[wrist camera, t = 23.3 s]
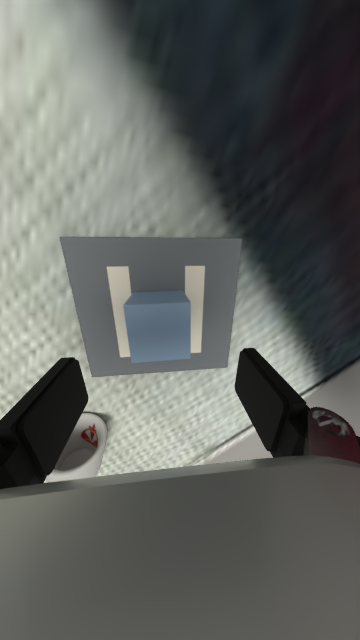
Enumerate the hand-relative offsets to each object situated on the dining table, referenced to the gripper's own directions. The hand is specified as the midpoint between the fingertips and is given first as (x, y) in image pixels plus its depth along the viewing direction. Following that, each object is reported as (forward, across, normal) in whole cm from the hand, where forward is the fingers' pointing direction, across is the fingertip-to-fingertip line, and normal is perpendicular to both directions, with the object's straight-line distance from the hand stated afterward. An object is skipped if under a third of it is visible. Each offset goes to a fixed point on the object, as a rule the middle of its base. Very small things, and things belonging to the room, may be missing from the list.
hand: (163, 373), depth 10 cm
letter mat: (+13, 0, +1) cm, 13 cm away
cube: (+12, 0, +1) cm, 12 cm away
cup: (+10, +16, +25) cm, 31 cm away
